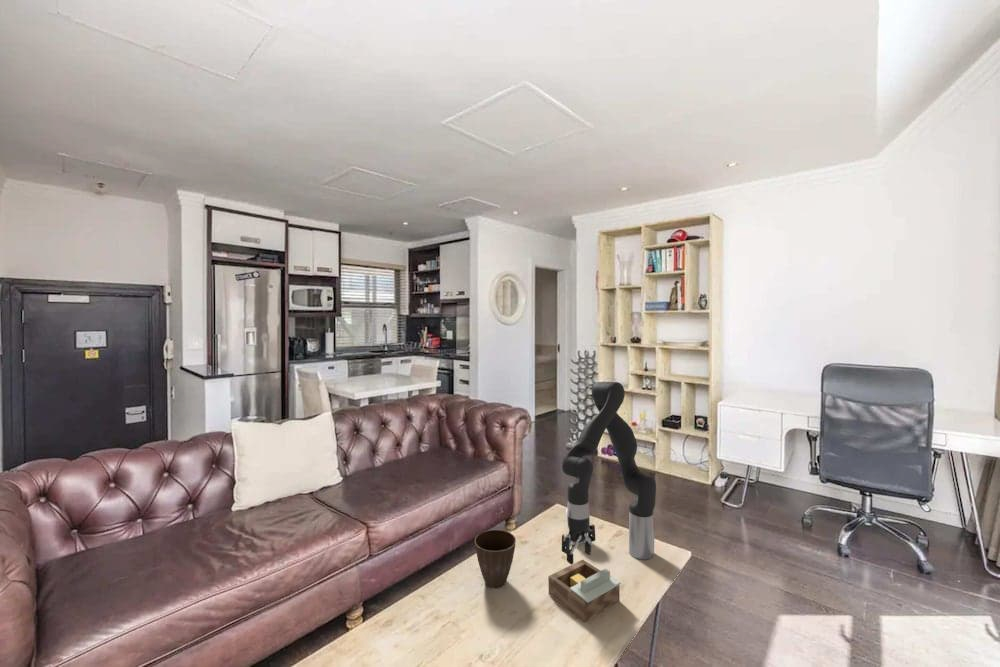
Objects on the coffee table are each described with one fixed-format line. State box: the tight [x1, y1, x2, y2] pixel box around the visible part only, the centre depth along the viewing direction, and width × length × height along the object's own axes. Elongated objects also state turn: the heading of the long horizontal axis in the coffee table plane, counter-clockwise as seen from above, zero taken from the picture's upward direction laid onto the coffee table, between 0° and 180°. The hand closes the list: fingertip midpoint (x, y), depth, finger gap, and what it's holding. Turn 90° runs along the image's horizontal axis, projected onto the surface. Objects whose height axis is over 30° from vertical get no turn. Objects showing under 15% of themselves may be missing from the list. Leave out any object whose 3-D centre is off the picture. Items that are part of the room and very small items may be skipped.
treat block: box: [570, 573, 586, 588], centre depth 151 cm, size 4×4×5 cm
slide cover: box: [570, 568, 622, 602], centre depth 144 cm, size 16×8×4 cm, turn 125°
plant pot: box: [474, 529, 517, 589], centre depth 158 cm, size 15×15×16 cm
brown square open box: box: [548, 559, 620, 623], centre depth 149 cm, size 17×17×6 cm
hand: (579, 558), depth 150 cm, fingers open, 8 cm apart
